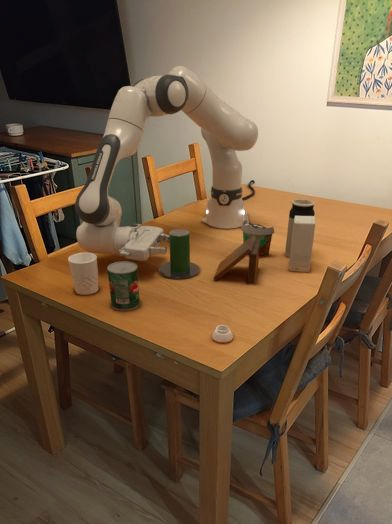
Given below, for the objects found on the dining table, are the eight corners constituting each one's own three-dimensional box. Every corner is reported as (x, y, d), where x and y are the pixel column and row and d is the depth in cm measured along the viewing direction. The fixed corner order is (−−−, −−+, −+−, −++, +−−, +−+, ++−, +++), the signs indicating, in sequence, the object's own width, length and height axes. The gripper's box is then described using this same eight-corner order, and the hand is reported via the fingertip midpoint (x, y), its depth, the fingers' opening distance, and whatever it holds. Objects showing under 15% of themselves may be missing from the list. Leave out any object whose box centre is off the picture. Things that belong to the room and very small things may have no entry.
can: (182, 274, 151) (154, 245, 147) (210, 249, 144) (181, 219, 141) (178, 282, 146) (148, 252, 142) (206, 257, 139) (176, 225, 136)
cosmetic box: (309, 273, 146) (316, 224, 137) (287, 271, 147) (293, 222, 138) (309, 262, 152) (316, 215, 144) (289, 261, 154) (294, 214, 145)
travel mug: (298, 261, 153) (305, 206, 143) (280, 254, 158) (285, 201, 148) (313, 255, 158) (321, 202, 148) (294, 249, 163) (301, 196, 153)
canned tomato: (108, 300, 130) (103, 263, 124) (135, 295, 132) (132, 259, 126) (115, 313, 124) (111, 275, 118) (143, 307, 126) (141, 270, 120)
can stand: (219, 265, 151) (220, 232, 145) (258, 268, 148) (260, 235, 142) (213, 280, 141) (213, 245, 135) (254, 284, 139) (256, 249, 133)
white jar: (207, 338, 113) (223, 346, 110) (208, 328, 111) (224, 335, 109) (220, 330, 116) (236, 337, 113) (221, 320, 115) (237, 327, 112)
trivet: (164, 261, 153) (164, 259, 153) (203, 264, 151) (203, 262, 151) (153, 277, 143) (153, 275, 143) (194, 281, 141) (194, 279, 140)
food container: (232, 251, 160) (233, 223, 155) (243, 247, 164) (245, 219, 159) (261, 261, 153) (263, 231, 148) (272, 256, 157) (274, 227, 152)
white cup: (90, 281, 140) (86, 250, 135) (106, 290, 135) (102, 257, 130) (68, 289, 136) (62, 257, 130) (82, 298, 131) (77, 265, 125)
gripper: (114, 243, 135) (160, 247, 133) (136, 221, 152) (177, 224, 149) (116, 263, 138) (161, 267, 136) (138, 240, 155) (178, 243, 153)
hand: (170, 245), depth 143 cm, fingers open, 8 cm apart
